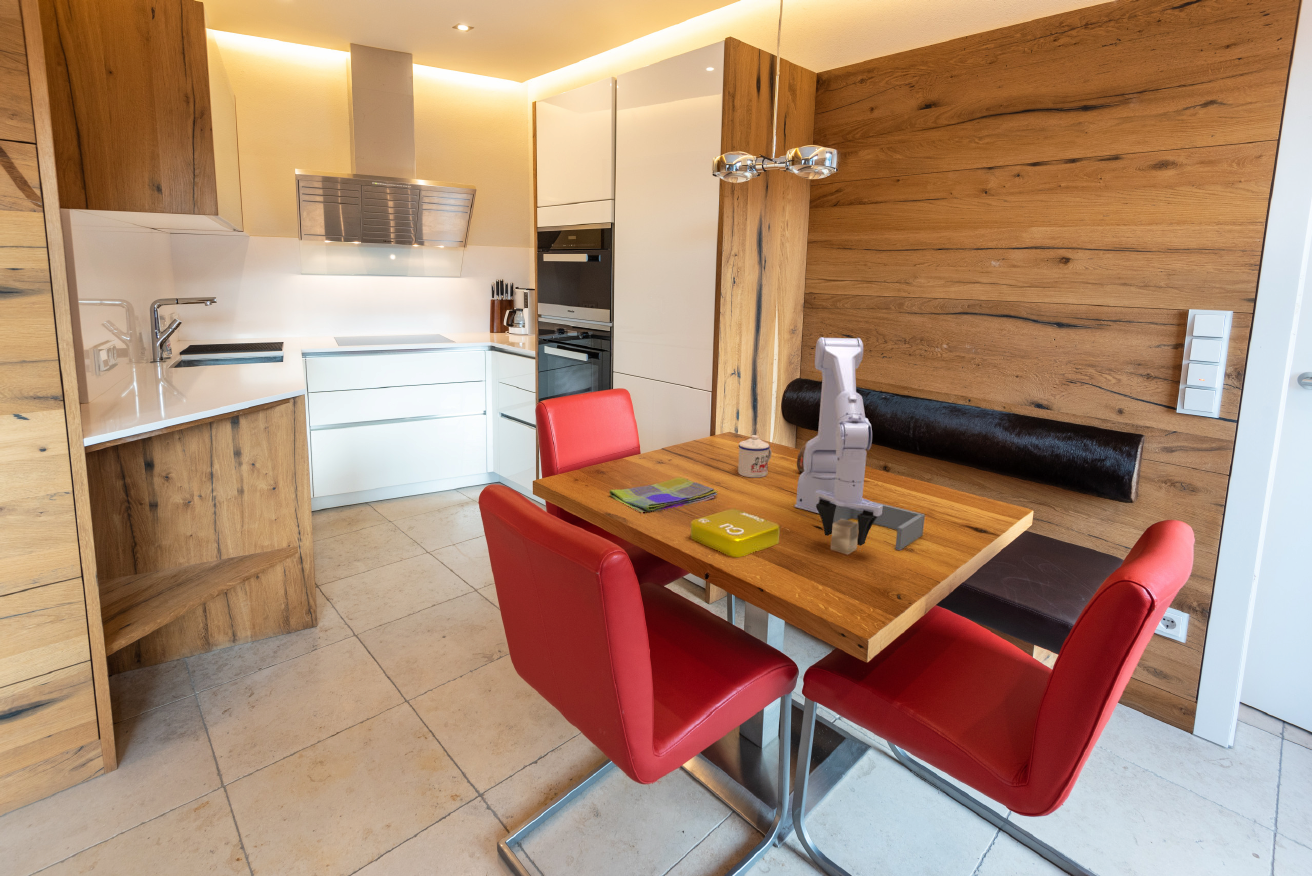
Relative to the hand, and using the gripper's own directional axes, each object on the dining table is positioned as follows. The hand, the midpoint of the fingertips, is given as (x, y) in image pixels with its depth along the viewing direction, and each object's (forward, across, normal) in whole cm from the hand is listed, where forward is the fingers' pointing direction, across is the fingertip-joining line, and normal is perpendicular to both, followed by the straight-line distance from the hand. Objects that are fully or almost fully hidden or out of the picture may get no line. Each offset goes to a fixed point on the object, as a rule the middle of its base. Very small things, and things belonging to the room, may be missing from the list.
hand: (844, 539), depth 143 cm
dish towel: (+3, -51, -1) cm, 51 cm away
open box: (+2, 0, +14) cm, 14 cm away
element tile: (+3, -20, -12) cm, 24 cm away
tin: (+3, -36, +50) cm, 62 cm away
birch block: (+2, 0, 0) cm, 2 cm away
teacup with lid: (+3, -46, +35) cm, 58 cm away
